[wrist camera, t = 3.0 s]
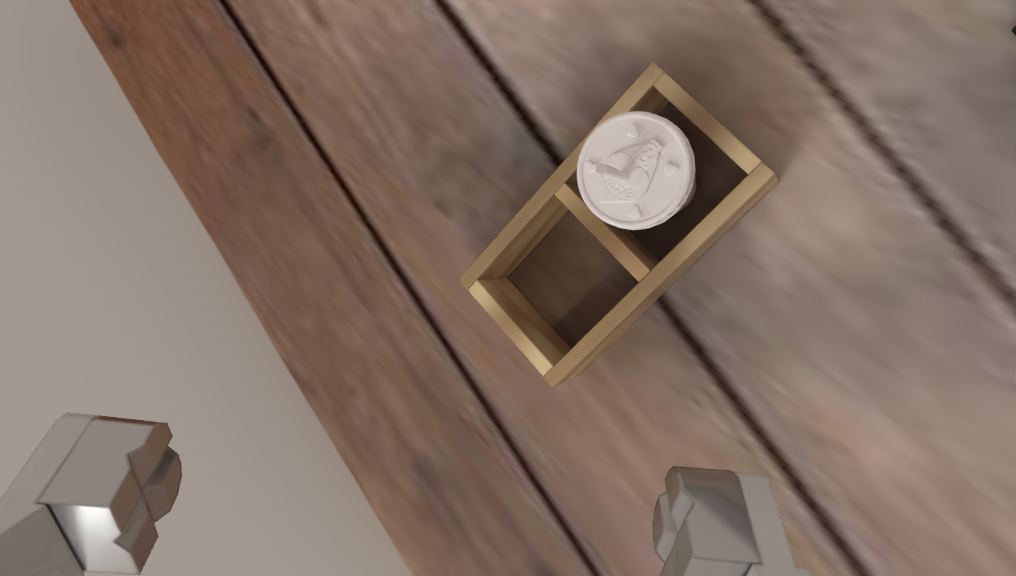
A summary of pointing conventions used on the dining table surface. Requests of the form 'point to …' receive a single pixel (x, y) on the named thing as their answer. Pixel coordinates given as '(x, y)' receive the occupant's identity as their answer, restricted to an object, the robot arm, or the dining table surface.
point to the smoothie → (636, 170)
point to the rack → (607, 239)
